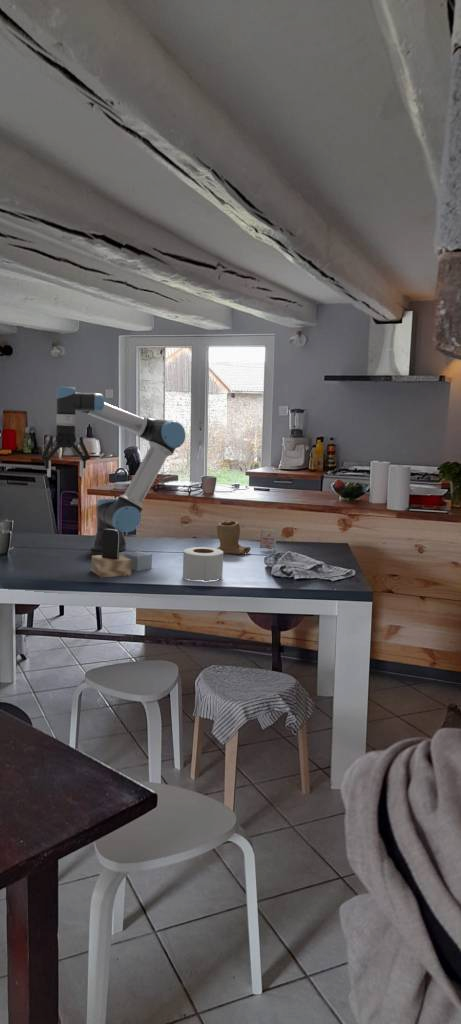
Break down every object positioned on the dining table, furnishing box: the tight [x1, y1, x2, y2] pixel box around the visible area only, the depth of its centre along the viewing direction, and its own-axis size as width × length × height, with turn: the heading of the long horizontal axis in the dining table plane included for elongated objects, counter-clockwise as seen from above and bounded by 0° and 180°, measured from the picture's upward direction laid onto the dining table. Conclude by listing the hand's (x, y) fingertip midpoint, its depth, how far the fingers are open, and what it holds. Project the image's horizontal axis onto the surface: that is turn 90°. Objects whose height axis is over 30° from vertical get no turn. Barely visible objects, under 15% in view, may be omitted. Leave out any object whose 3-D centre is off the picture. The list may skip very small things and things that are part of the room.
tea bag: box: [259, 528, 277, 549], centre depth 343 cm, size 4×7×10 cm, turn 77°
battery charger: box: [101, 529, 121, 559], centre depth 285 cm, size 7×4×11 cm, turn 75°
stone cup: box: [216, 520, 251, 555], centre depth 332 cm, size 15×12×15 cm
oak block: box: [90, 553, 132, 578], centre depth 286 cm, size 12×12×6 cm
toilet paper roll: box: [182, 546, 224, 581], centre depth 285 cm, size 16×15×11 cm
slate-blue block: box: [123, 550, 153, 572], centre depth 296 cm, size 8×8×6 cm
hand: (65, 476), depth 302 cm, fingers open, 13 cm apart
